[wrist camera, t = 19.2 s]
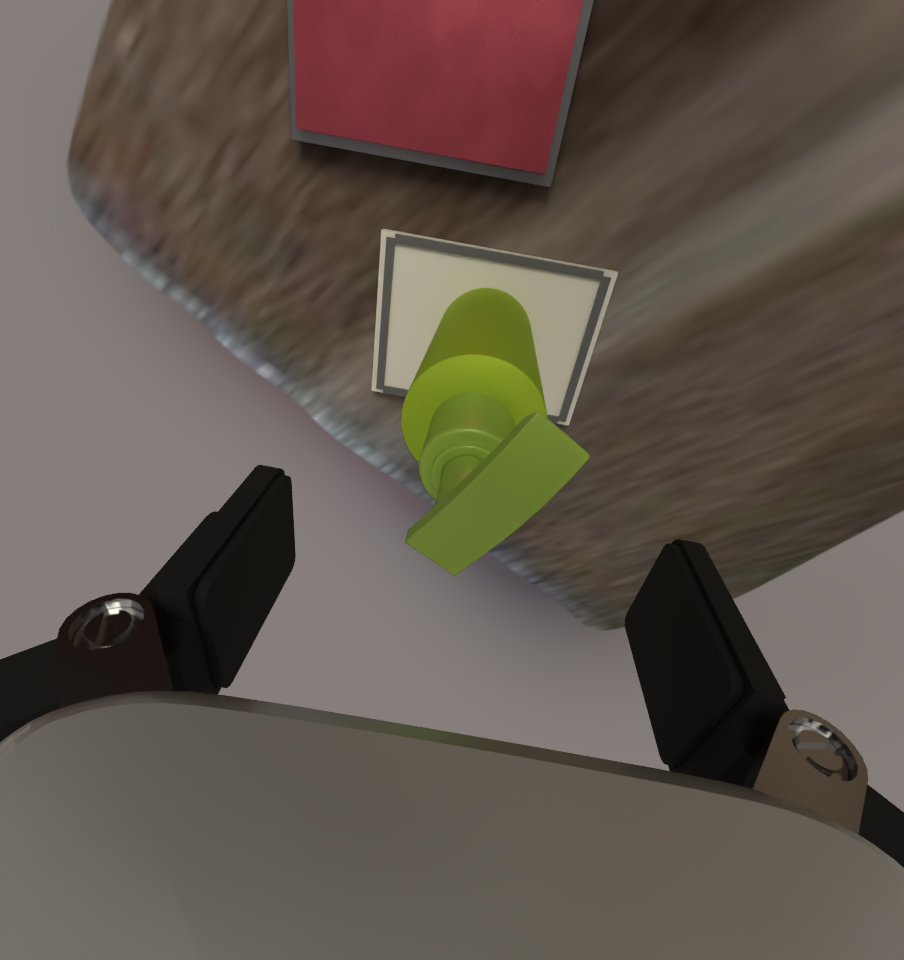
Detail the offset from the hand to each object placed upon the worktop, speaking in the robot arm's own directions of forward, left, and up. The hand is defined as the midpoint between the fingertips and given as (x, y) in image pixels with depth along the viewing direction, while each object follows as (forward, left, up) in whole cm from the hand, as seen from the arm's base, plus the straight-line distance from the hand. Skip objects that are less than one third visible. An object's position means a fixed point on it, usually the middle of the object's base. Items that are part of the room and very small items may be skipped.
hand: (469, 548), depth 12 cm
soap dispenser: (0, 0, -21) cm, 21 cm away
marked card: (0, 0, -22) cm, 22 cm away
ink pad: (-13, -5, -22) cm, 26 cm away
